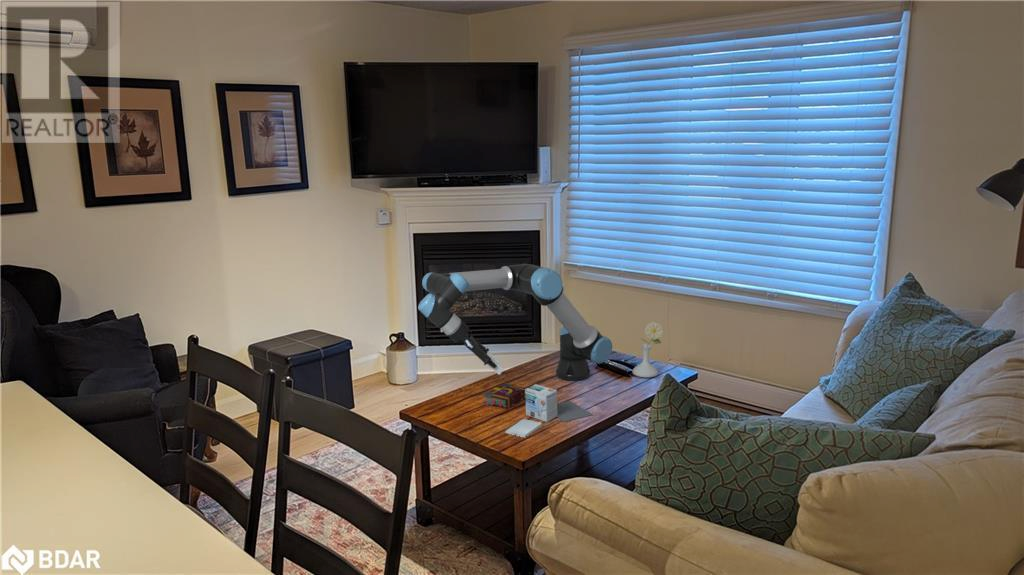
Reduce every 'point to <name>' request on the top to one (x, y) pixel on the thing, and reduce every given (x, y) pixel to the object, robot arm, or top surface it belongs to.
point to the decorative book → (505, 396)
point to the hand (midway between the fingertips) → (499, 368)
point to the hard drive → (524, 428)
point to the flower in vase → (645, 367)
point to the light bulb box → (541, 402)
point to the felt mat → (570, 411)
